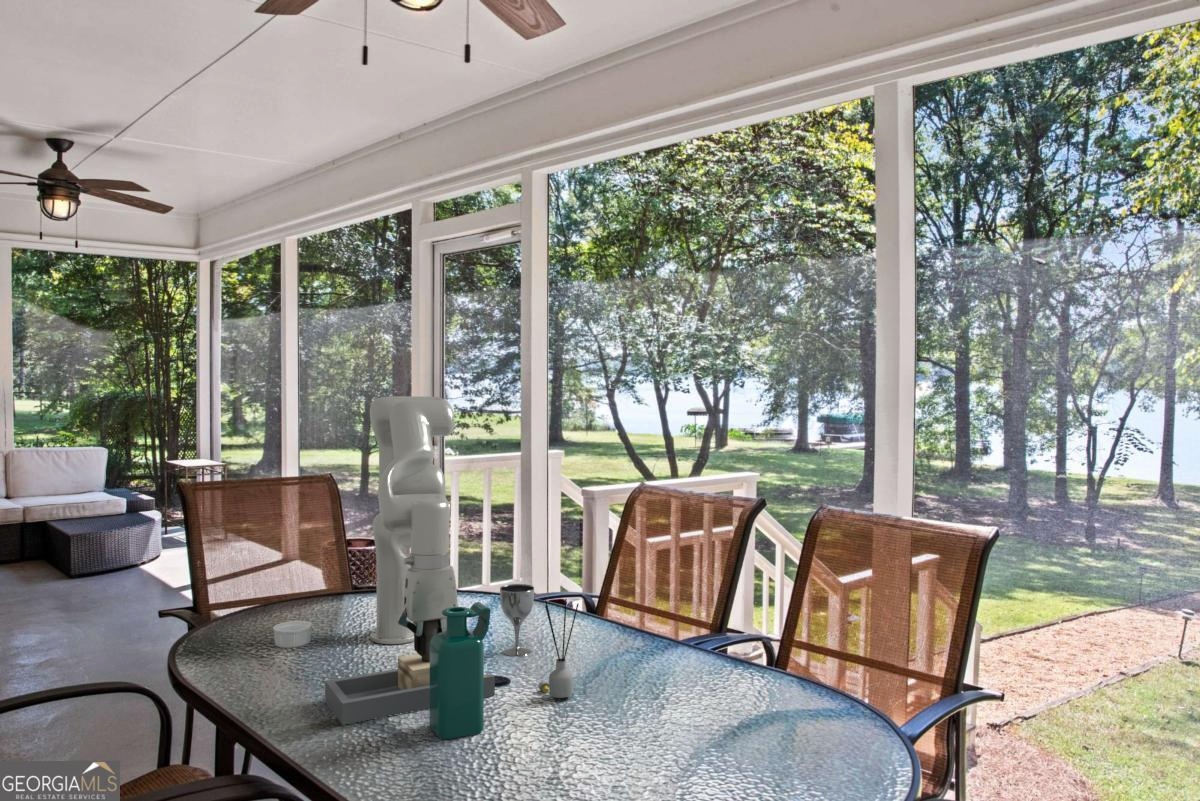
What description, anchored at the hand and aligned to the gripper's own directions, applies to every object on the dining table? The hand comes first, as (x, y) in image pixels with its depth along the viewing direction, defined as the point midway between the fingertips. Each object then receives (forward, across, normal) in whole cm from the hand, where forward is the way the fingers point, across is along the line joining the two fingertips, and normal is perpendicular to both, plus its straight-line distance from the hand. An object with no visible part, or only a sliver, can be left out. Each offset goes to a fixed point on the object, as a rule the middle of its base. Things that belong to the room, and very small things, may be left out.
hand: (429, 651), depth 171 cm
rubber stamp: (+8, 0, 0) cm, 8 cm away
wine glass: (+9, +27, +17) cm, 33 cm away
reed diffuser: (+9, +21, -14) cm, 27 cm away
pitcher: (+9, -1, -19) cm, 21 cm away
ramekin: (+9, -17, +50) cm, 54 cm away
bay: (+9, -4, 0) cm, 10 cm away
